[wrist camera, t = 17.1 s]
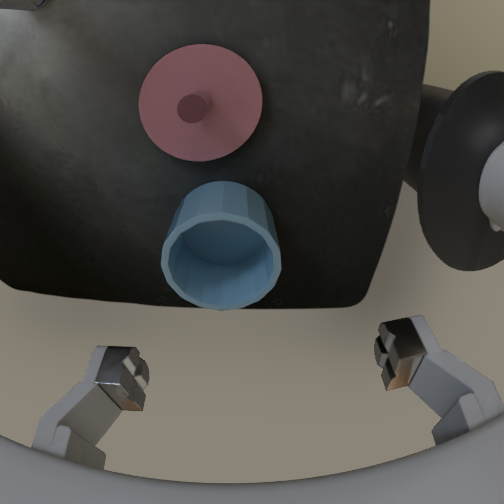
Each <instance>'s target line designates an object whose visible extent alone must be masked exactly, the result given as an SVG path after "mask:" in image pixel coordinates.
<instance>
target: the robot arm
mask: <svg viewBox="0 0 504 504" xmlns="http://www.w3.org/2000/svg"><path fill="white" fill-rule="evenodd" d="M479 202H480V206H481V209H482V211H483V213H484V214H485V215H486V216H487V217H488V219H489V222H490V226H491V229H493V230H494V231H499V230H502V231H504V141H503V142H502V143H501V144H500V145H499V146H498V147H497V148H496V149H495V150H494V151H493V152H492V154H491V155H490V156H489V158H488V160H487V162H486V164H485V166H484V169H483V171H482V175H481V178H480V184H479ZM378 331H379V334H380V335H379V336H378V337H377V338H376V340H375V344H374V353H375V358H376V361H377V364H378V365H379V366H380V367H382V368H383V371H382V374H381V376H382V379H383V382H384V385H385V388H386V391H387V390H392V389H397V388H401V387H405V386H408V387H409V388H410V389H411V390H412V391H413V392H414V393H415V394H416V395H417V396H419V397H420V398H421V399H422V400H423V401H424V402H425V403H426V404H427V405H428V406H429V407H430V408H431V409H433V410H434V411H435V412H436V413H437V414H438V415H439V416H440V417H441V418H442V419H441V420H440V421H439V422H438V423H437V424H436V425H435V427H434V428H433V430H432V434H433V437H434V441H435V444H436V446H434V447H431V448H428V449H426V450H423V451H420V452H417V453H414V454H411V455H408V456H405V457H402V458H398V459H395V460H392V461H388V462H385V463H381V464H377V465H374V466H370V467H365V468H361V469H356V470H352V471H348V472H342V473H337V474H331V475H326V476H320V477H313V478H306V479H298V480H288V481H277V482H262V483H231V484H230V483H229V484H228V483H195V482H181V481H169V480H160V479H153V478H145V477H139V476H132V475H127V474H121V473H117V472H112V471H107V470H104V465H105V459H106V455H105V453H104V452H103V451H101V450H100V449H98V448H97V447H95V445H96V444H97V443H98V442H99V440H100V439H101V438H102V436H103V435H104V434H105V433H106V431H107V430H108V429H109V428H110V426H111V425H112V424H113V423H114V421H115V420H116V419H117V417H118V416H119V415H120V414H121V412H122V410H129V411H143V406H144V401H145V397H146V396H145V393H144V391H143V389H144V388H145V387H146V386H147V385H148V382H149V369H148V366H147V364H146V362H145V360H143V359H141V358H140V357H139V354H140V352H139V351H138V350H137V348H136V347H121V346H118V347H117V346H97V347H96V348H95V349H94V351H93V354H92V357H91V360H90V362H89V365H88V367H87V370H86V373H85V376H84V379H83V381H82V382H79V383H78V384H76V385H75V386H74V387H73V388H72V389H71V390H70V391H69V392H68V393H67V394H66V395H65V396H64V397H63V398H61V399H60V401H58V402H57V403H56V404H55V405H54V406H53V407H52V408H51V409H50V410H49V411H48V412H47V413H46V414H45V415H44V416H42V418H40V421H39V424H38V427H37V430H36V434H35V438H34V440H33V444H32V447H31V448H30V447H27V446H24V445H22V444H20V443H17V442H15V441H13V440H10V439H8V438H6V437H4V436H1V435H0V504H504V405H503V402H502V400H501V398H500V396H499V393H498V391H497V389H496V387H495V385H494V383H493V381H491V380H490V379H488V378H487V377H485V376H484V375H482V374H481V373H479V372H478V371H477V370H475V369H474V368H472V367H471V366H469V365H468V364H466V363H465V362H463V361H461V360H460V359H459V358H457V357H456V356H454V355H453V354H451V353H450V352H448V351H447V350H441V348H440V346H439V344H438V342H437V340H436V338H435V336H434V334H433V332H432V331H431V329H430V327H429V325H428V323H427V321H426V319H425V318H424V316H423V315H417V316H412V317H408V318H407V317H406V318H401V319H397V320H392V321H387V322H382V323H381V324H380V326H379V329H378Z"/></svg>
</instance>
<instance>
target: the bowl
mask: <svg viewBox="0 0 504 504" xmlns="http://www.w3.org/2000/svg"><path fill="white" fill-rule="evenodd" d="M161 267H162V269H163V272H164V275H165V278H166V280H167V283H168V284H169V285H170V286H171V287H172V288H173V289H174V290H175V291H176V292H177V293H178V294H179V296H180V297H182V298H184V299H186V300H187V301H189V302H191V303H193V304H195V305H197V306H200V307H203V308H209V309H214V310H230V309H240V308H243V307H245V306H247V305H250V304H252V303H254V302H257V301H259V300H261V299H262V298H263V297H264V296H265V295H266V294H267V293H268V292H269V291H270V290H271V289H272V288H273V287H274V286H275V284H276V281H277V279H278V276H279V274H280V272H281V269H282V267H281V255H280V248H279V243H278V238H277V234H276V229H275V225H274V220H273V216H272V213H271V211H270V209H269V207H268V205H267V204H266V202H265V201H264V199H263V198H262V197H261V196H260V195H259V194H258V193H256V192H255V191H254V190H252V189H251V188H249V187H247V186H245V185H242V184H239V183H236V182H230V181H217V182H211V183H207V184H204V185H201V186H199V187H198V188H196V189H194V190H193V191H191V192H190V193H189V194H188V195H187V196H186V197H185V198H184V199H183V200H182V202H181V204H180V205H179V207H178V208H177V210H176V212H175V215H174V217H173V220H172V223H171V225H170V228H169V231H168V233H167V236H166V239H165V242H164V244H163V250H162V258H161Z"/></svg>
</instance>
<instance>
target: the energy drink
mask: <svg viewBox="0 0 504 504" xmlns="http://www.w3.org/2000/svg"><path fill="white" fill-rule="evenodd" d="M47 1H48V0H0V9H15V10H26V11H34V10H37V9H39V8H40V7H42V6H43V5H44V4H45V3H46V2H47Z"/></svg>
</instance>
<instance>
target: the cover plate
mask: <svg viewBox="0 0 504 504" xmlns="http://www.w3.org/2000/svg"><path fill="white" fill-rule="evenodd" d="M261 111H262V91H261V86H260V84H259V81H258V78H257V76H256V74H255V72H254V71H253V70H252V68H251V67H250V65H249V64H248V63H247V62H246V61H245V60H244V59H243V58H241V57H240V56H239V55H237V54H236V53H234V52H232V51H230V50H228V49H226V48H223V47H220V46H216V45H209V44H196V45H189V46H185V47H182V48H179V49H177V50H174V51H172V52H171V53H169V54H167V55H166V56H164V57H163V58H162V59H160V60H159V61H158V62H157V63H156V64H155V65H154V66H153V67H152V69H151V70H150V71H149V73H148V74H147V76H146V78H145V80H144V82H143V85H142V87H141V91H140V96H139V113H140V118H141V122H142V125H143V127H144V129H145V131H146V133H147V134H148V136H149V137H150V139H151V140H152V141H153V142H154V143H155V144H156V145H157V146H158V147H159V148H161V149H162V150H163V151H165V152H166V153H168V154H170V155H172V156H174V157H177V158H180V159H184V160H189V161H209V160H214V159H218V158H221V157H223V156H226V155H228V154H230V153H232V152H233V151H235V150H236V149H238V148H239V147H240V146H241V145H243V144H244V143H245V142H246V140H247V139H248V138H249V137H250V136H251V134H252V133H253V132H254V130H255V128H256V126H257V124H258V121H259V119H260V115H261Z"/></svg>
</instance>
